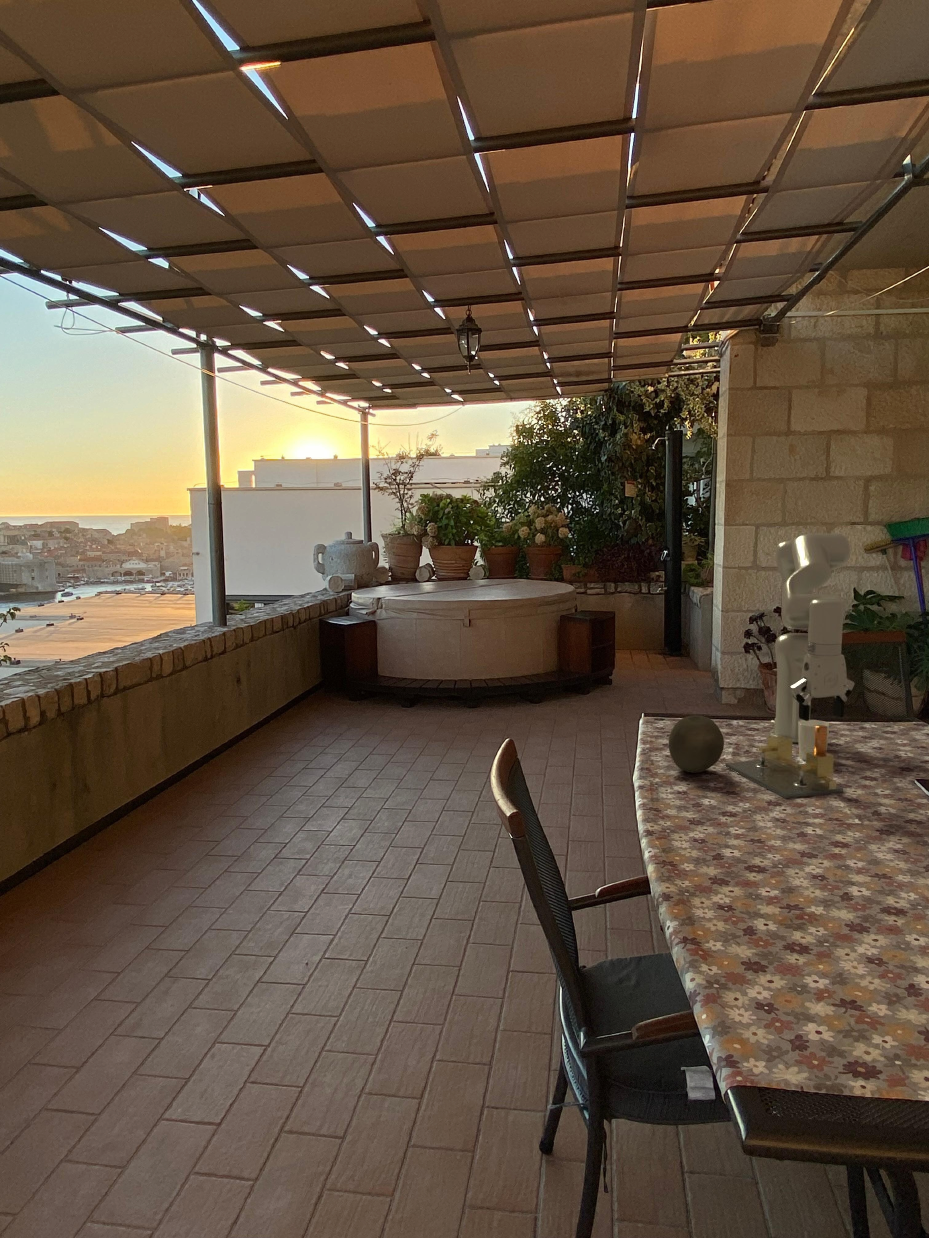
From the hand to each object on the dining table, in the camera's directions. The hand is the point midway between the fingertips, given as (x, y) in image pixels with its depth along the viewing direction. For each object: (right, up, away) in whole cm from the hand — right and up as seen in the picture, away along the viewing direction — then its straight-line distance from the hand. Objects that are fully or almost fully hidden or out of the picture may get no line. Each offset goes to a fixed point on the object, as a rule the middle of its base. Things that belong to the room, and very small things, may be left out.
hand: (821, 717), depth 204 cm
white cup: (+8, -14, +25) cm, 30 cm away
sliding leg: (-2, -16, +1) cm, 16 cm away
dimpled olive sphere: (-27, -16, +14) cm, 35 cm away
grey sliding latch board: (-7, -17, +8) cm, 20 cm away
